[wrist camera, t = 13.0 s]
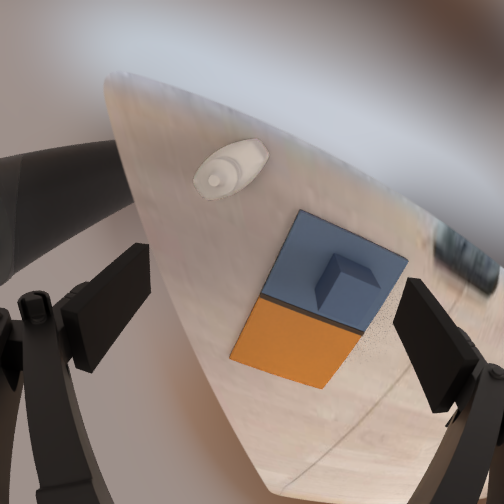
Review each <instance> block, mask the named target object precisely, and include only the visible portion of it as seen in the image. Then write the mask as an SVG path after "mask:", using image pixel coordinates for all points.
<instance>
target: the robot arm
mask: <svg viewBox="0 0 504 504" xmlns="http://www.w3.org/2000/svg"><path fill="white" fill-rule="evenodd" d="M149 263H150V261H149V244H142V243H135V244H133V245H132V246H131V247H130V248H128V249H127V250H126V251H125V252H124V253H123V254H121V255H120V256H119V257H118V258H117V259H115V260H114V262H112V263H111V264H110V265H108V266H107V267H106V268H105V269H104V270H103V271H102V272H100V273H99V274H98V275H97V276H96V277H95V278H94V279H92V280H91V281H90V282H84V283H81V284H79V285H77V286H75V287H74V288H73V289H72V290H71V291H70V293H67V294H66V295H65V296H64V298H62V299H61V300H60V301H59V302H57V303H56V304H55V305H54V306H53V307H52V305H51V300H50V296H49V294H48V293H46V292H44V291H32V292H28V293H26V294H24V295H22V296H21V297H20V298H19V300H18V302H17V303H18V307H19V310H20V314H21V317H22V320H11V317H10V314H9V312H8V310H7V309H5V308H0V504H9V484H10V468H11V458H12V448H13V441H14V433H15V427H16V420H17V414H18V409H19V403H20V398H21V393H22V388H23V384H24V390H25V401H26V411H27V419H28V426H29V433H30V439H31V445H32V451H33V456H34V461H35V466H36V470H37V474H38V479H39V483H40V489H38V490H36V500H37V504H114V502H113V500H112V498H111V495H110V493H109V491H108V489H107V486H106V484H105V481H104V479H103V477H102V474H101V472H100V469H99V466H98V464H97V461H96V459H95V456H94V453H93V450H92V448H91V445H90V442H89V439H88V436H87V433H86V429H85V426H84V423H83V420H82V416H81V413H80V410H79V406H78V402H77V398H76V395H75V391H74V387H73V383H72V378H71V374H70V370H69V367H68V362H69V360H70V359H71V358H72V357H73V360H74V364H75V367H76V368H77V369H80V370H83V371H86V372H89V373H92V372H93V371H94V369H95V368H96V367H97V365H98V364H99V362H100V361H101V359H102V358H103V357H104V355H105V354H106V353H107V351H108V350H109V348H110V347H111V346H112V344H113V343H114V342H115V340H116V339H117V337H118V336H119V335H120V333H121V332H122V331H123V329H124V328H125V326H126V325H127V324H128V322H129V321H130V320H131V318H132V317H133V316H134V314H135V313H136V312H137V310H138V309H139V308H140V306H141V305H142V304H143V302H144V301H145V300H146V298H147V297H148V296H149V294H150V293H151V286H150V264H149ZM393 325H394V327H395V329H396V331H397V333H398V335H399V337H400V339H401V341H402V343H403V345H404V348H405V350H406V352H407V354H408V356H409V359H410V361H411V363H412V365H413V367H414V370H415V372H416V374H417V377H418V379H419V381H420V383H421V386H422V388H423V391H424V393H425V395H426V398H427V400H428V403H429V405H430V408H431V410H432V413H442V412H448V411H449V409H450V408H451V406H452V405H453V403H454V402H456V405H457V407H458V409H457V410H456V411H455V413H454V414H453V416H452V417H451V419H450V420H449V421H448V423H447V424H446V425H445V427H448V428H447V431H446V433H445V435H444V437H443V439H442V441H441V443H440V446H439V448H438V450H437V452H436V454H435V456H434V458H433V459H432V461H431V463H430V465H429V467H428V469H427V471H426V473H425V474H424V476H423V478H422V480H421V481H420V483H419V485H418V487H417V488H416V490H415V492H414V493H413V495H412V497H411V498H410V500H409V501H408V503H407V504H477V502H478V500H479V497H480V494H481V492H482V489H483V486H484V483H485V480H486V477H487V474H488V471H489V483H488V493H487V502H486V504H504V369H503V368H501V367H500V366H498V365H496V364H492V363H487V362H486V360H485V359H484V357H483V356H482V355H481V353H480V352H479V350H478V349H477V347H475V344H474V343H473V342H471V339H470V337H469V336H468V335H467V333H466V332H464V331H463V330H462V329H461V328H459V327H457V326H456V325H455V323H454V322H453V321H452V319H451V318H450V316H449V315H448V314H447V312H446V311H445V310H444V309H443V307H442V306H441V305H440V303H439V302H438V301H437V299H436V298H435V297H434V295H433V294H432V293H431V292H430V290H429V289H428V288H427V287H426V285H425V284H424V283H423V282H422V280H421V279H418V278H409V277H408V278H407V281H406V285H405V288H404V291H403V294H402V297H401V300H400V303H399V306H398V309H397V312H396V315H395V318H394V320H393ZM489 468H490V469H489Z"/></svg>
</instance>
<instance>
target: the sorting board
mask: <svg viewBox="0 0 504 504" xmlns="http://www.w3.org/2000/svg"><path fill="white" fill-rule="evenodd" d="M334 253H335V254H337V255H340V256H342V257H344V258H346V259H349V260H351V261H353V262H355V263H358V264H360V265H362V266H364V267H367V268H369V269H371V271H372V273H373V275H374V276H375V278H376V280H377V282H378V283H379V285H380V287H381V291H380V293H379V294H378V296H377V297H376V299H375V301H374V302H373V304H372V305H371V307H370V309H369V310H368V312H367V313H366V315H365V316H364V318H363V320H362V321H361V323H360V324H359V326H355V325H353V324H350V323H347V322H345V321H342V320H339V319H337V318H334V317H331V316H329V315H326V314H323V313H321V312H318V308H317V301H316V295H315V287H316V285H317V284H318V282H319V280H320V278H321V276H322V274H323V272H324V271H325V269H326V267H327V265H328V263H329V261H330V259H331V257H332V256H333V254H334ZM407 263H408V260H407V259H406V258H404V257H402V256H400V255H398V254H396V253H394V252H391V251H389V250H387V249H385V248H383V247H381V246H379V245H377V244H375V243H373V242H371V241H369V240H367V239H364V238H362V237H360V236H358V235H356V234H354V233H352V232H350V231H347V230H345V229H343V228H341V227H339V226H336V225H334V224H332V223H330V222H328V221H325V220H323V219H321V218H319V217H317V216H314V215H312V214H310V213H307V212H305V211H303V210H299V212H298V215H297V217H296V219H295V221H294V223H293V225H292V227H291V230H290V232H289V234H288V236H287V238H286V240H285V242H284V245H283V247H282V249H281V251H280V253H279V255H278V257H277V260H276V262H275V264H274V266H273V268H272V270H271V272H270V274H269V276H268V278H267V281H266V283H265V285H264V287H263V289H262V291H261V293H260V295H259V297H258V299H257V301H256V303H255V306H254V308H253V310H252V312H251V314H250V316H249V318H248V320H247V322H246V324H245V326H244V328H243V330H242V332H241V334H240V336H239V338H238V340H237V342H236V344H235V346H234V348H233V350H232V352H231V354H230V357H229V359H231V360H234V361H237V362H239V363H242V364H245V365H248V366H251V367H253V368H256V369H259V370H262V371H265V372H268V373H271V374H274V375H277V376H280V377H283V378H286V379H289V380H293V381H296V382H299V383H302V384H305V385H309V386H312V387H316V388H319V389H323V388H324V386H325V385H326V384H327V383H328V381H329V380H330V379H331V377H332V376H333V375H334V373H335V372H336V371H337V370H338V368H339V367H340V366H341V364H342V363H343V361H344V360H345V359H346V357H347V356H348V355H349V353H350V352H351V350H352V349H353V348H354V346H355V345H356V343H357V342H358V341H359V339H360V338H361V336H363V334H364V332H365V330H366V329H367V327H368V326H369V324H370V323H371V321H372V320H373V318H374V317H375V315H376V314H377V312H378V311H379V309H380V308H381V306H382V305H383V303H384V301H385V300H386V298H387V297H388V295H389V293H390V292H391V290H392V289H393V287H394V285H395V284H396V282H397V280H398V279H399V277H400V275H401V274H402V272H403V270H404V268H405V267H406V265H407Z"/></svg>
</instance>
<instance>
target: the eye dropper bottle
mask: <svg viewBox="0 0 504 504" xmlns="http://www.w3.org/2000/svg"><path fill="white" fill-rule="evenodd" d="M268 158H269V152H268V151H267V149H266V148H265V146H264V145H263V143H262V142H261V141H260V140H259V139H256V138H254V139H247V140H242V141H238V142H235V143H232V144H229V145H227V146H225V147H223V148H221V149H219V150H217V151H216V152H214V153H213V154H212V155H210V156H209V157H208V158H207V159H206V160H205V161H204V162H203V163H202V165H201V166H200V167H199V169H198V170H197V172H196V174H195V176H194V178H193V184H194V186H195V188H196V189H197V191H198V192H199V194H200V195H201V196H202V197H203V198H204V199H205V200H208V201H212V200H218V199H222V198H226V197H228V196H231V195H233V194H235V193H237V192H238V191H240V190H242V189H243V188H244V187H246V186H247V185H248V184H249V183H250V182H251V181H252V180H253V179H254V178H255V177H256V176H257V175H258V174H259V172H260V171H261V170H262V168H263V167H264V165H265V164H266V162H267V160H268Z"/></svg>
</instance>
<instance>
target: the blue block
mask: <svg viewBox="0 0 504 504" xmlns="http://www.w3.org/2000/svg"><path fill="white" fill-rule="evenodd" d="M380 291H381V287H380V285H379V283H378V282H377V280H376V278H375V276H374V275H373V273H372V271H371V269H369V268H367V267H364V266H362V265H360V264H358V263H355V262H353V261H351V260H349V259H346V258H344V257H342V256H340V255H337V254H335V253H334V254H333V256H332V257H331V259H330V261H329V263H328V265H327V267H326V269H325V271H324V272H323V274H322V276H321V278H320V280H319V282H318V284H317V285H316V287H315V295H316V301H317V308H318V312H321V313H323V314H326V315H329V316H331V317H334V318H337V319H339V320H342V321H345V322H347V323H350V324H353V325H355V326H359V324H360V323H361V321H362V320H363V318H364V316H365V315H366V313H367V312H368V310H369V309H370V307H371V305H372V304H373V302H374V301H375V299H376V297H377V296H378V294H379V293H380Z"/></svg>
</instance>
